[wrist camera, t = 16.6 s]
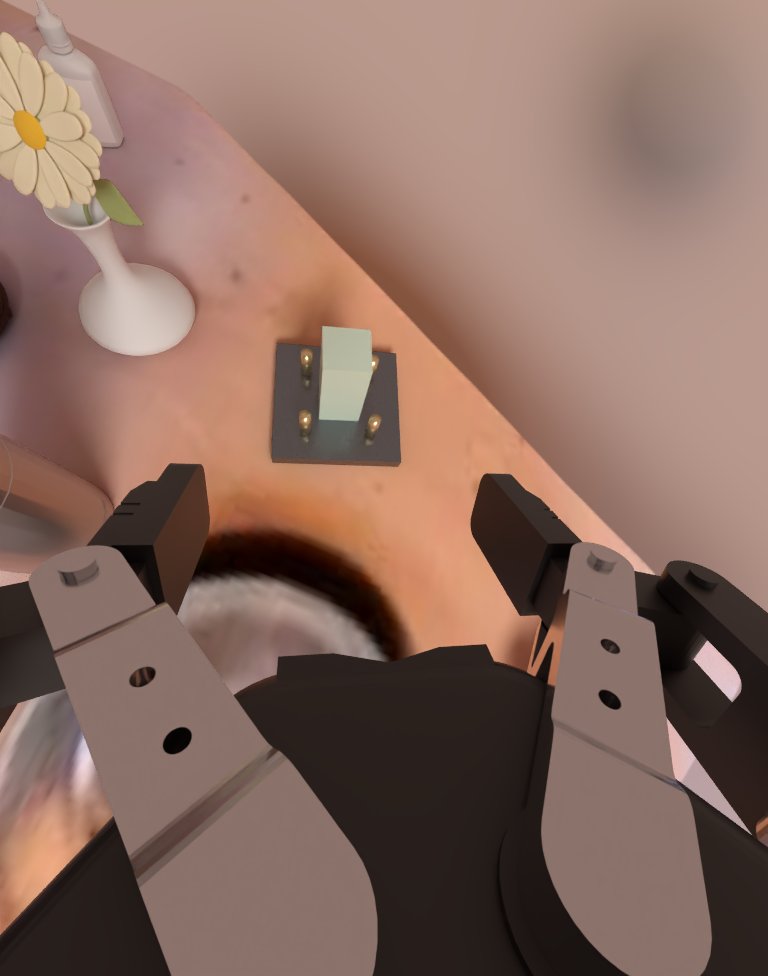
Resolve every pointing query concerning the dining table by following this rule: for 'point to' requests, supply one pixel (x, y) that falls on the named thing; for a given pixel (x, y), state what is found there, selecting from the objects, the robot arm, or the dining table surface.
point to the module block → (344, 372)
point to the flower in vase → (84, 206)
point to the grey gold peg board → (333, 440)
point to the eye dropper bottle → (79, 77)
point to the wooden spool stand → (4, 308)
